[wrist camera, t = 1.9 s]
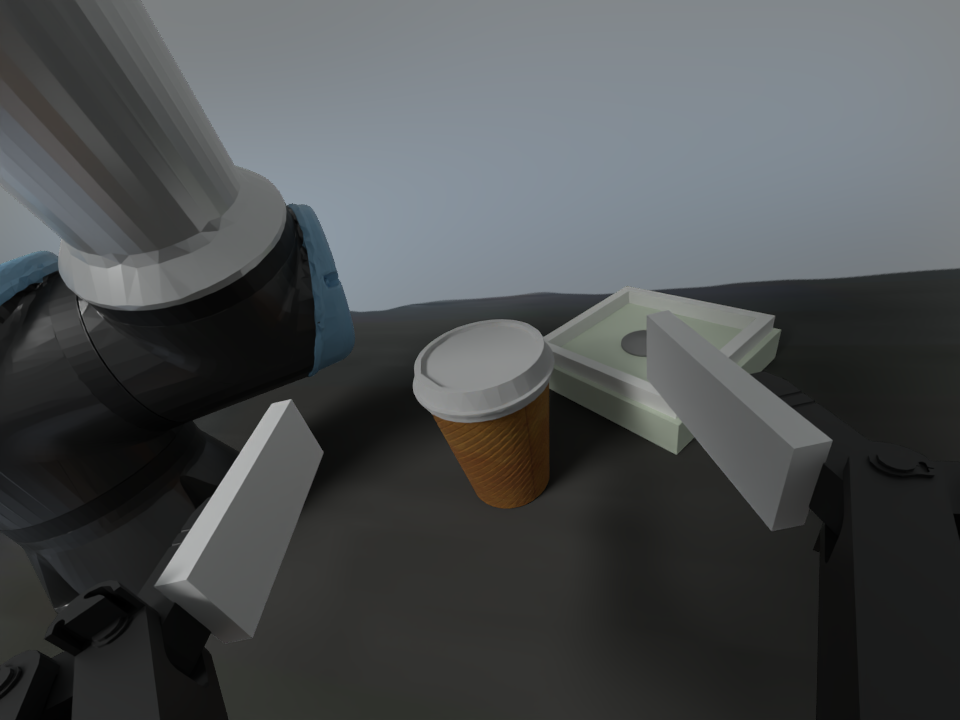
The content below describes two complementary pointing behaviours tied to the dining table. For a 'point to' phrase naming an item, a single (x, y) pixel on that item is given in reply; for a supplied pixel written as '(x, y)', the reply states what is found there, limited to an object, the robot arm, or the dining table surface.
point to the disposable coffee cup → (492, 405)
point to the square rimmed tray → (623, 357)
